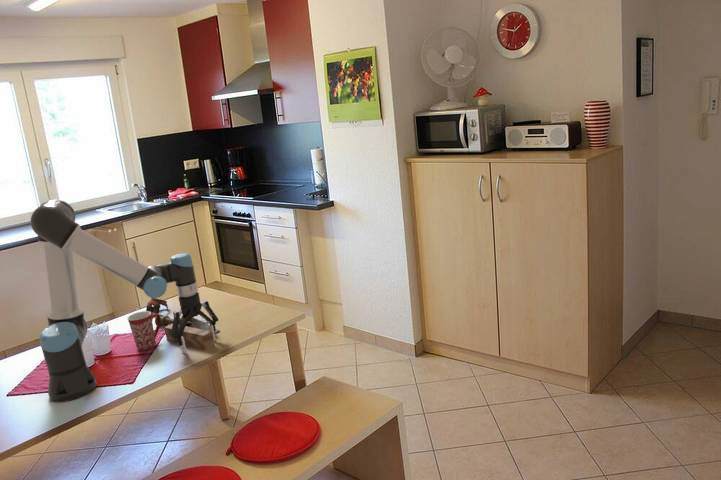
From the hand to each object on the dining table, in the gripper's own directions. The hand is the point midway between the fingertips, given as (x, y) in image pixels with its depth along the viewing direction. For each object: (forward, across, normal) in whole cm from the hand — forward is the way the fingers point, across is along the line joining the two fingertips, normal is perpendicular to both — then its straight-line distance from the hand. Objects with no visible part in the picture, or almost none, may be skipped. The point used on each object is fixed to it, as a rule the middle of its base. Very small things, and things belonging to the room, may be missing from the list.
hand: (199, 346), depth 230 cm
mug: (0, -10, +20) cm, 23 cm away
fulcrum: (0, +9, +12) cm, 15 cm away
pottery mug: (0, +9, +54) cm, 55 cm away
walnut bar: (0, 0, +7) cm, 7 cm away
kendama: (+1, +5, +29) cm, 29 cm away
